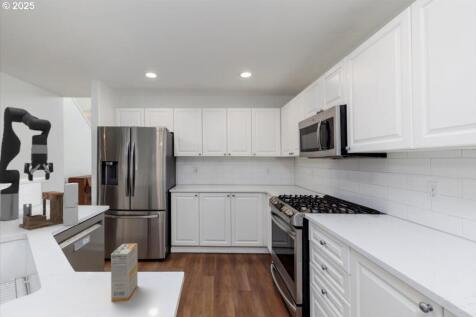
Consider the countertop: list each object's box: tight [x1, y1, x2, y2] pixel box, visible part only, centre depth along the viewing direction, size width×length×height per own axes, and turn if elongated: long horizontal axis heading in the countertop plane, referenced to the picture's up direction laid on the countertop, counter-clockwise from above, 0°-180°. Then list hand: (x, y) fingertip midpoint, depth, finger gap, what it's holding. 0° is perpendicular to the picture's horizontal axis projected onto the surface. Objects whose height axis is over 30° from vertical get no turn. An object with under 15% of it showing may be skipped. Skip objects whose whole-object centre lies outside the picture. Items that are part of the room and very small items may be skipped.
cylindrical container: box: [63, 182, 79, 227], centre depth 148 cm, size 7×7×25 cm
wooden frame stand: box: [18, 190, 64, 231], centre depth 147 cm, size 15×18×19 cm
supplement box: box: [110, 243, 139, 302], centre depth 70 cm, size 8×5×13 cm, turn 5°
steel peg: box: [22, 203, 33, 218], centre depth 151 cm, size 4×4×12 cm
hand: (39, 180), depth 143 cm, fingers open, 8 cm apart
